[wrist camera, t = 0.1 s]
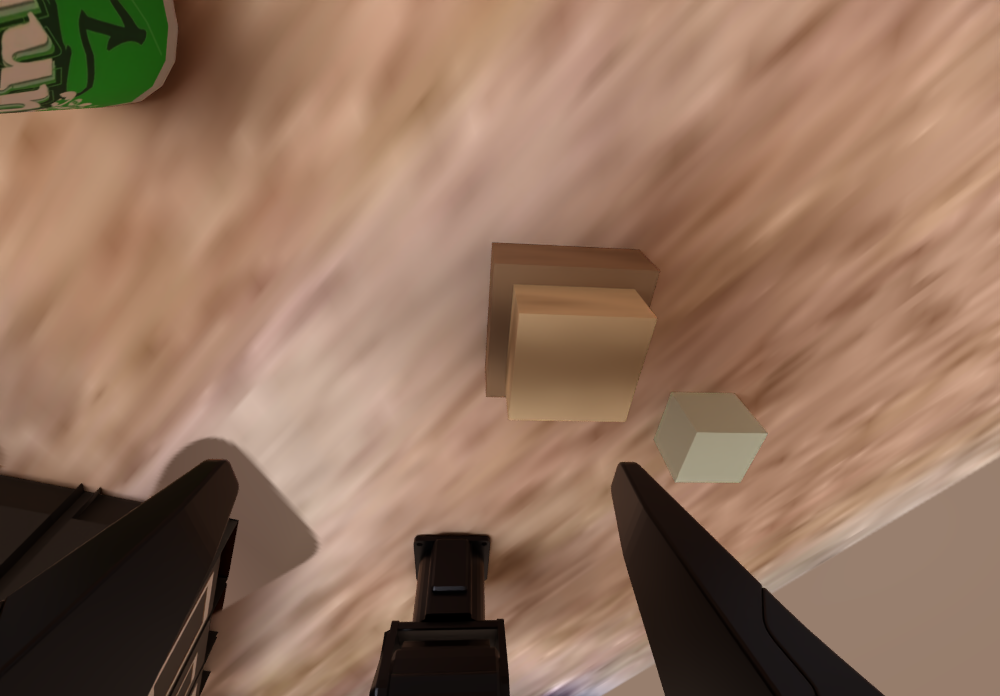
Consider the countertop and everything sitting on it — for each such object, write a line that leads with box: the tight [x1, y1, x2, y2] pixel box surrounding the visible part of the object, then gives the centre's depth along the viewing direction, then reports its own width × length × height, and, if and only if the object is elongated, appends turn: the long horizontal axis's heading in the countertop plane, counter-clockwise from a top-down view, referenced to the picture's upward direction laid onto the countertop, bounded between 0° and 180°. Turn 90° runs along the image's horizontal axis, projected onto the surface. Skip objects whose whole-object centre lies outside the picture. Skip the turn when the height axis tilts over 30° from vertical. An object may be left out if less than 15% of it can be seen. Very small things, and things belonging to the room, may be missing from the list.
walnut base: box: [485, 243, 660, 397], centre depth 23 cm, size 8×8×3 cm
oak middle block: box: [505, 284, 657, 422], centre depth 20 cm, size 6×6×3 cm
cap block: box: [654, 392, 768, 483], centre depth 28 cm, size 4×4×4 cm
